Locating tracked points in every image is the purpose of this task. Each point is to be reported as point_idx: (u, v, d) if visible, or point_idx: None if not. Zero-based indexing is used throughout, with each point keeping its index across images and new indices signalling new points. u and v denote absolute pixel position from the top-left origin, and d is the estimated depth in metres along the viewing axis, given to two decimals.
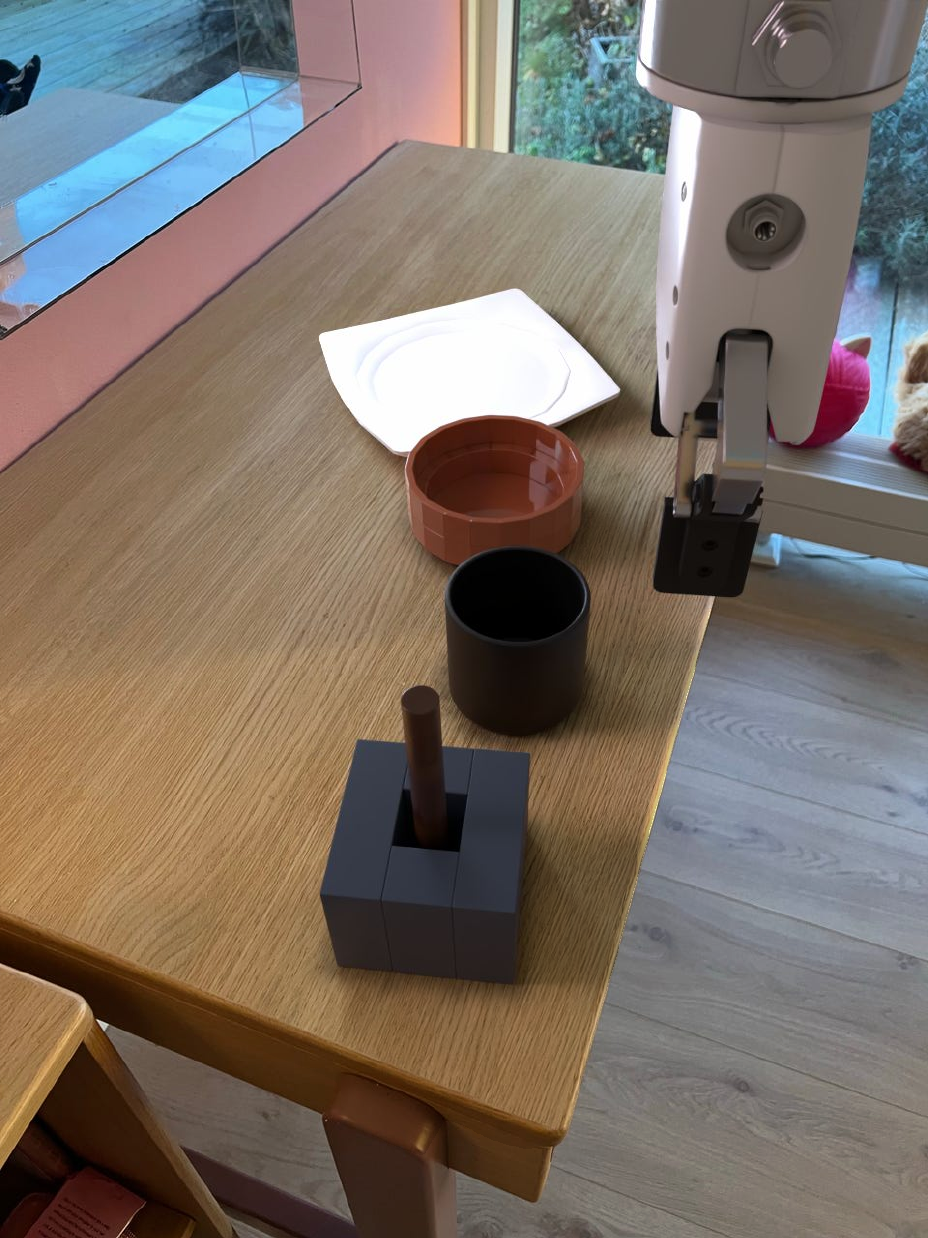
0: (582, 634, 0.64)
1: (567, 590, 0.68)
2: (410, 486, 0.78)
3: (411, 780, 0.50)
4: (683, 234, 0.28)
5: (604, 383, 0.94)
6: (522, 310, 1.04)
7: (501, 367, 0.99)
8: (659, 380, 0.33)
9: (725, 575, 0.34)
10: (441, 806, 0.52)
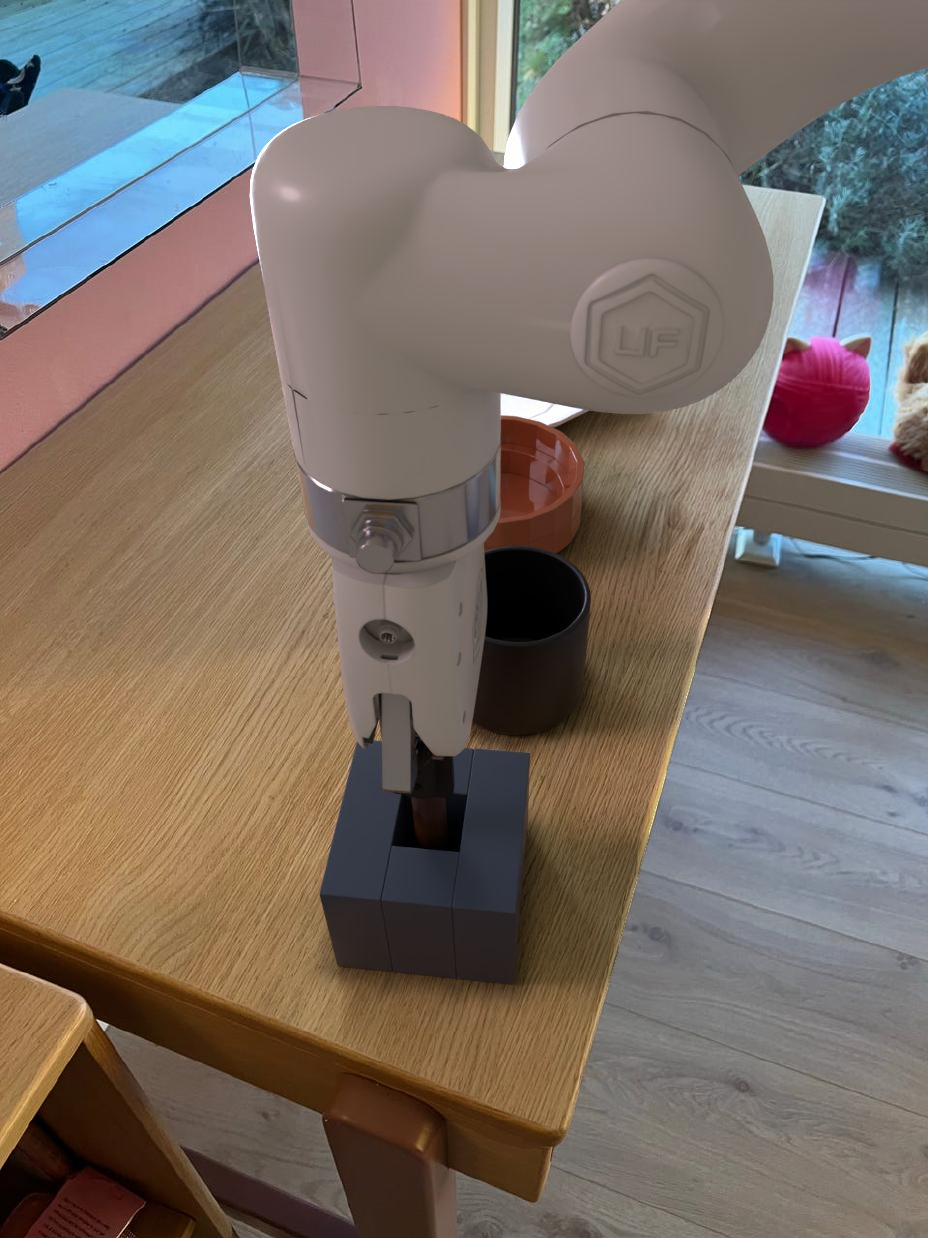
0: (582, 634, 0.64)
1: (567, 590, 0.68)
2: None
3: None
4: None
5: None
6: None
7: None
8: None
9: (432, 789, 0.48)
10: (441, 806, 0.52)
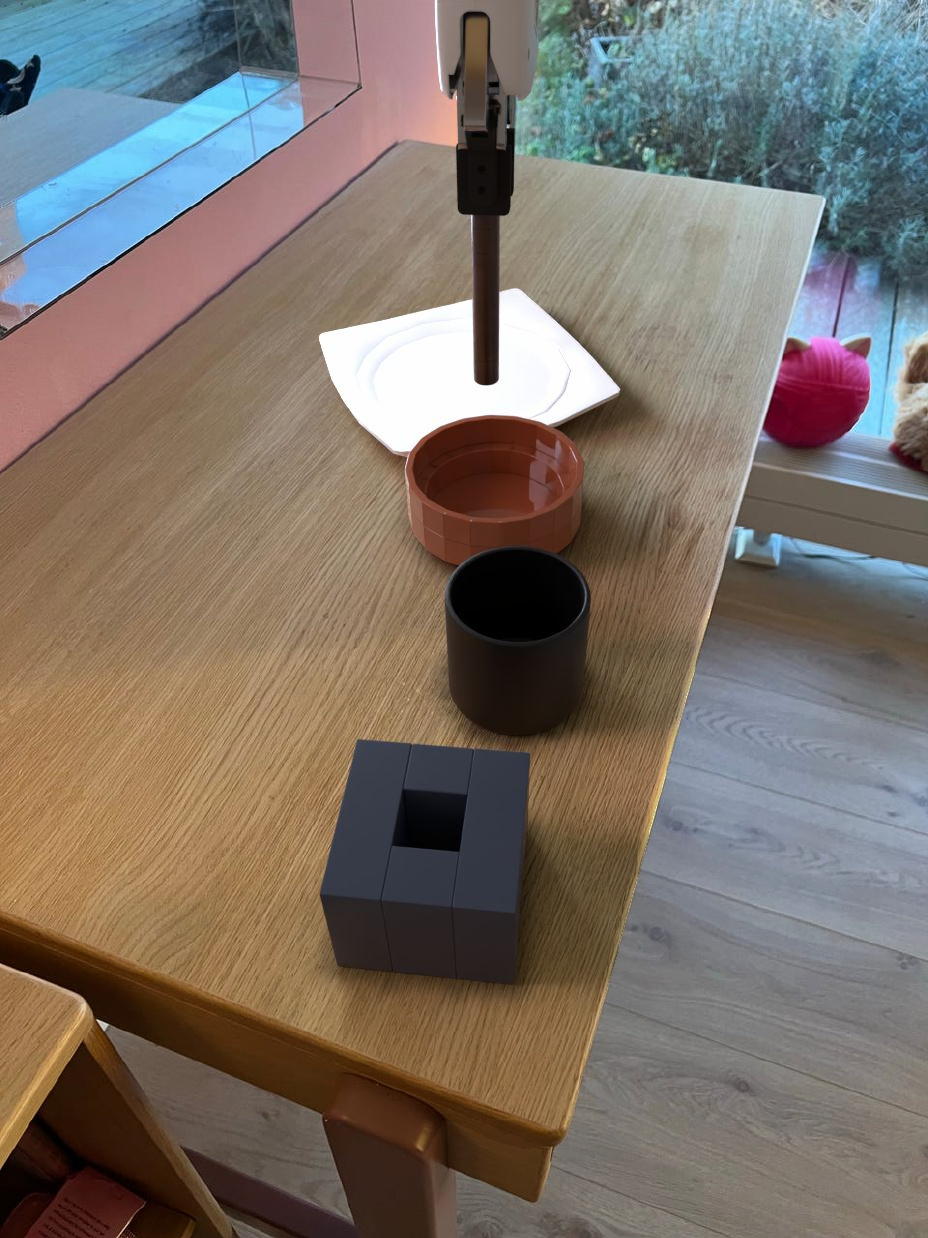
0: (582, 634, 0.64)
1: (567, 590, 0.68)
2: (410, 486, 0.78)
3: None
4: None
5: (603, 383, 0.94)
6: (522, 310, 1.04)
7: (501, 367, 0.99)
8: None
9: (494, 192, 0.59)
10: (496, 245, 0.63)
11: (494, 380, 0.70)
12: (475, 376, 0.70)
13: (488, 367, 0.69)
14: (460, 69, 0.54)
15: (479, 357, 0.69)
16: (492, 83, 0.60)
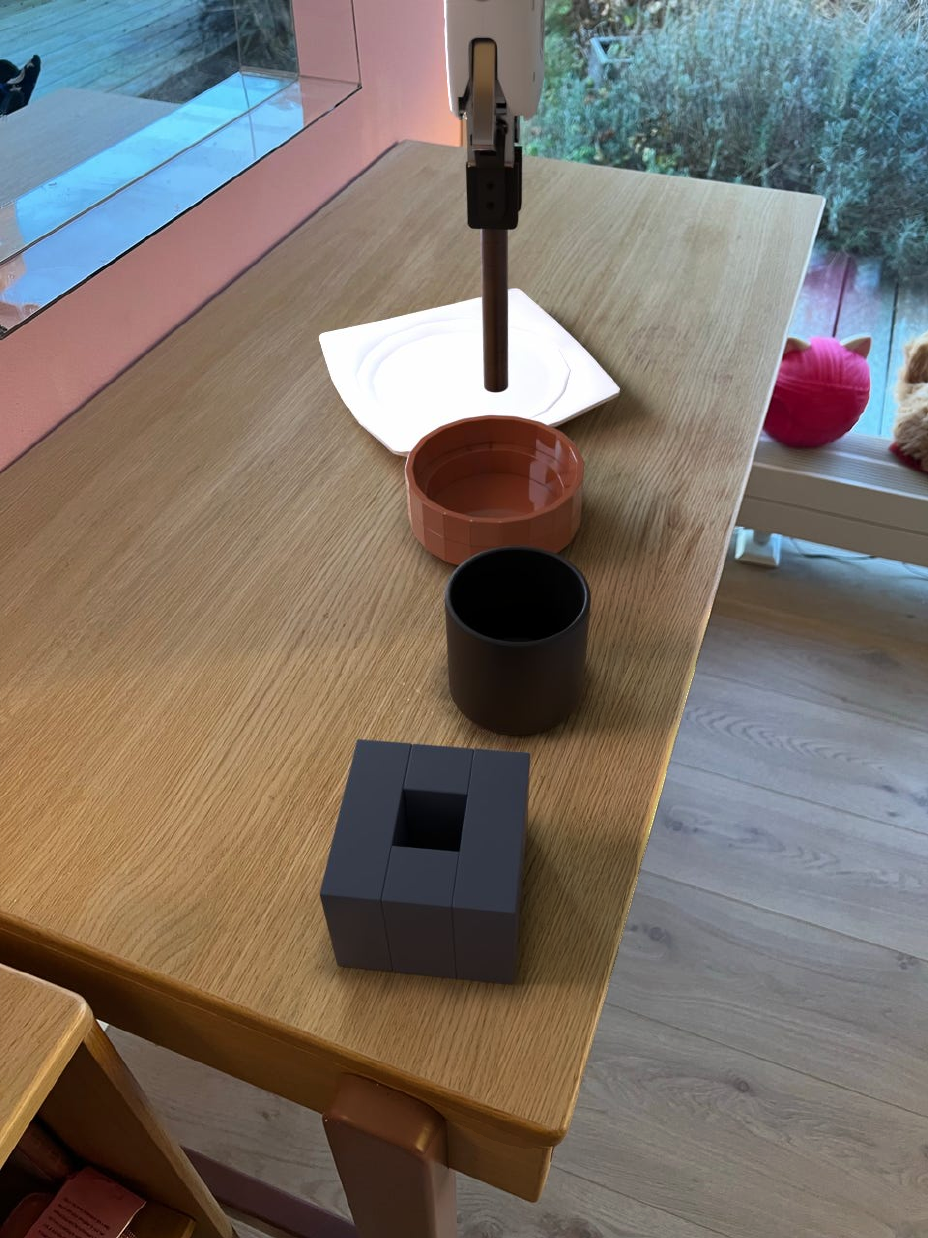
0: (582, 634, 0.64)
1: (567, 590, 0.68)
2: (410, 486, 0.78)
3: None
4: None
5: (603, 383, 0.94)
6: (522, 310, 1.04)
7: None
8: None
9: (502, 207, 0.62)
10: (504, 257, 0.66)
11: (503, 387, 0.73)
12: (485, 383, 0.73)
13: (497, 375, 0.72)
14: (469, 91, 0.57)
15: (489, 365, 0.71)
16: (500, 103, 0.62)
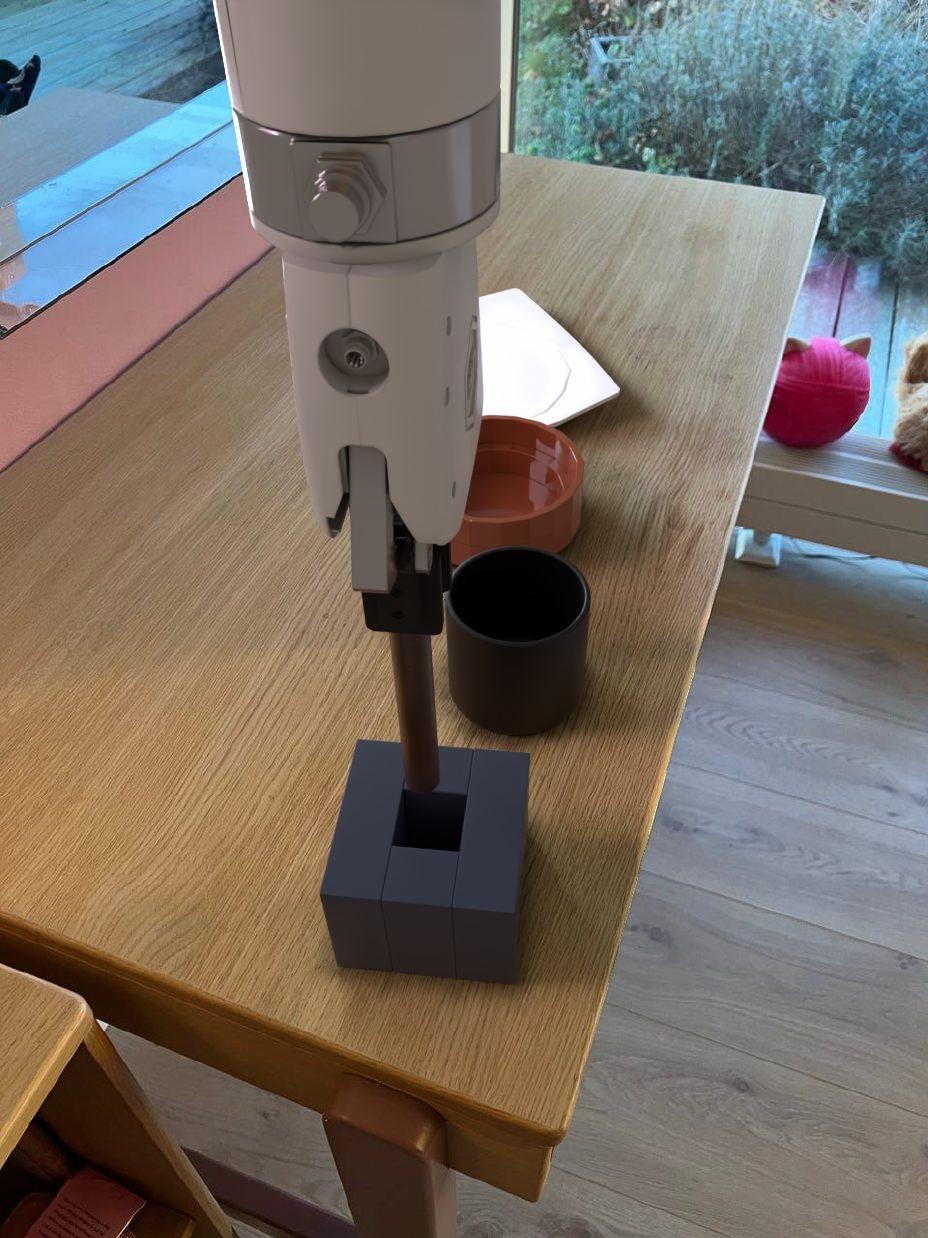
0: (582, 634, 0.64)
1: (567, 590, 0.68)
2: None
3: None
4: None
5: (603, 383, 0.94)
6: (522, 310, 1.04)
7: (501, 367, 0.99)
8: None
9: (416, 617, 0.39)
10: (426, 654, 0.44)
11: (433, 787, 0.50)
12: (406, 781, 0.50)
13: (423, 776, 0.50)
14: None
15: (410, 766, 0.49)
16: None
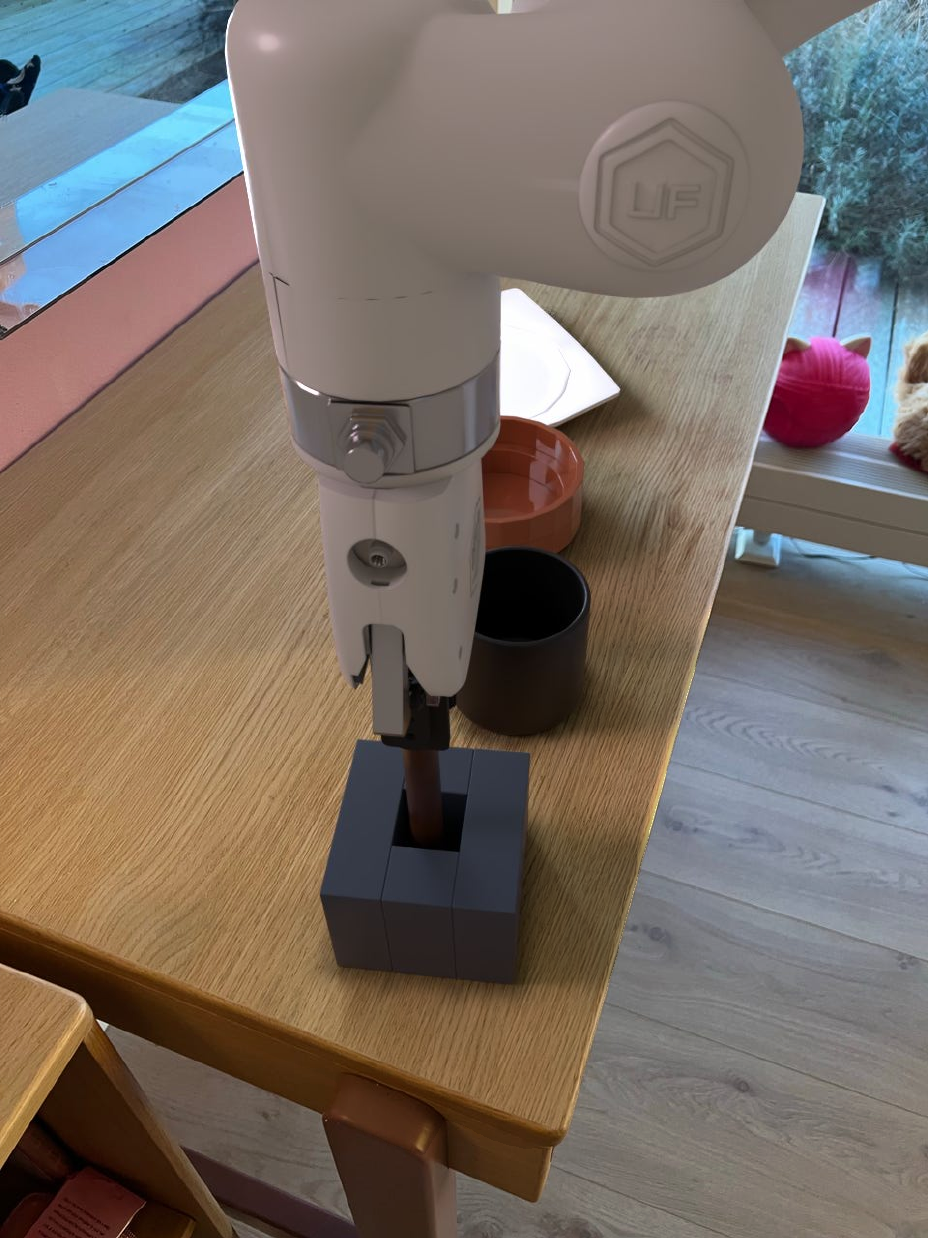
0: (582, 634, 0.64)
1: (567, 590, 0.68)
2: None
3: None
4: None
5: (603, 383, 0.94)
6: (522, 310, 1.04)
7: (501, 367, 0.99)
8: None
9: (426, 739, 0.45)
10: (434, 761, 0.49)
11: None
12: None
13: None
14: None
15: None
16: None
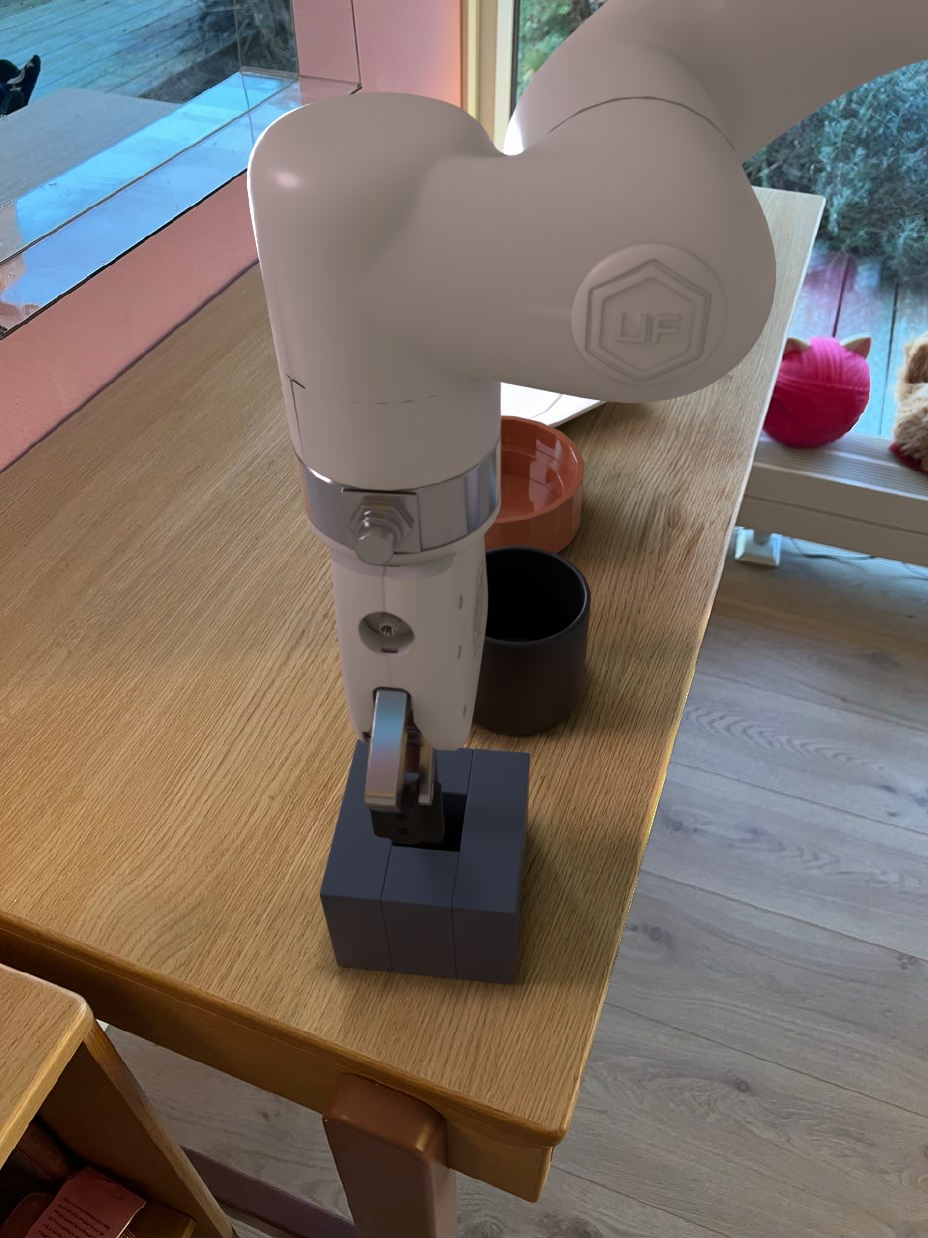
0: (582, 634, 0.64)
1: (567, 590, 0.68)
2: None
3: None
4: None
5: None
6: None
7: None
8: None
9: (419, 834, 0.44)
10: None
11: None
12: None
13: None
14: None
15: None
16: None
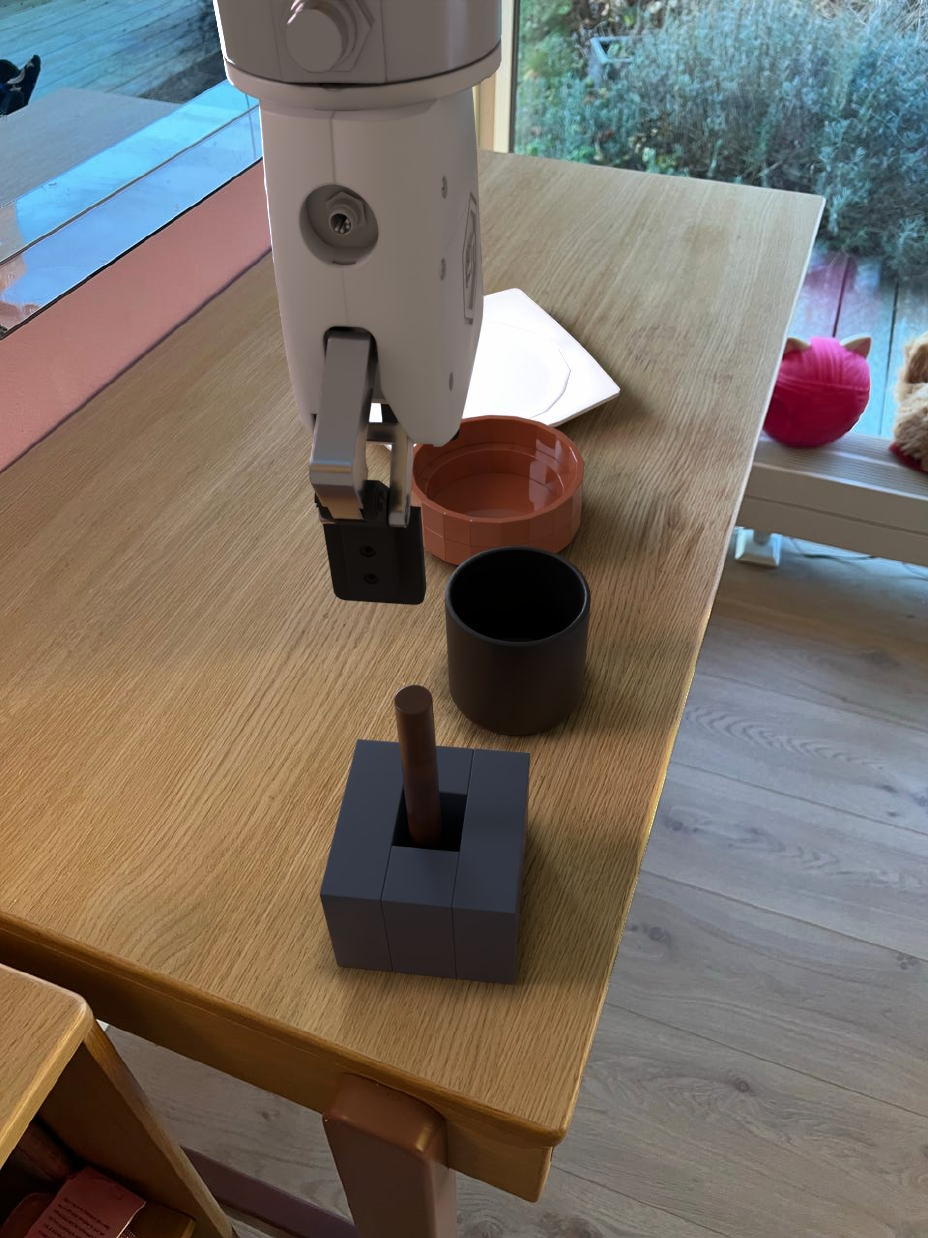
0: (582, 634, 0.64)
1: (567, 590, 0.68)
2: None
3: (405, 780, 0.50)
4: None
5: (603, 383, 0.94)
6: (522, 310, 1.04)
7: (501, 367, 0.99)
8: None
9: (392, 582, 0.33)
10: (435, 806, 0.52)
11: None
12: None
13: None
14: None
15: None
16: None
